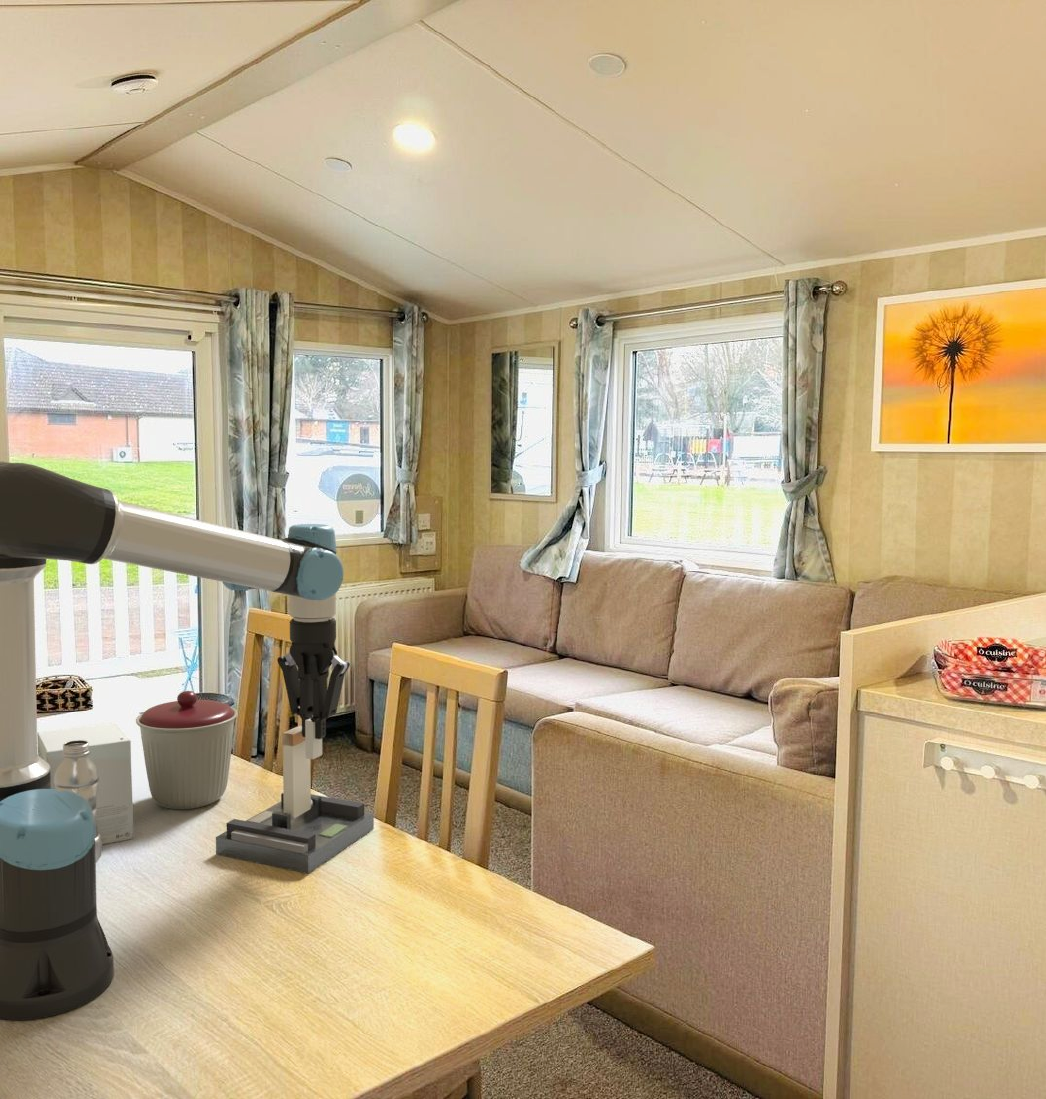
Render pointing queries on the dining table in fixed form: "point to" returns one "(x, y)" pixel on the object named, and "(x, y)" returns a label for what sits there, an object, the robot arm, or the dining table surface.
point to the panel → (327, 828)
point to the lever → (296, 774)
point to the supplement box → (100, 773)
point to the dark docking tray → (287, 837)
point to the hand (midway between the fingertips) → (313, 756)
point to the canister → (187, 750)
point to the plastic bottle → (80, 779)
